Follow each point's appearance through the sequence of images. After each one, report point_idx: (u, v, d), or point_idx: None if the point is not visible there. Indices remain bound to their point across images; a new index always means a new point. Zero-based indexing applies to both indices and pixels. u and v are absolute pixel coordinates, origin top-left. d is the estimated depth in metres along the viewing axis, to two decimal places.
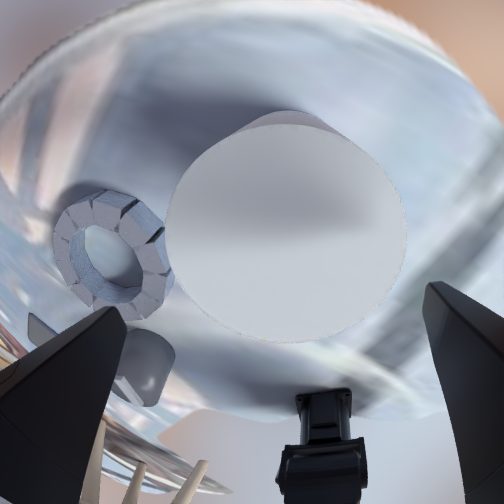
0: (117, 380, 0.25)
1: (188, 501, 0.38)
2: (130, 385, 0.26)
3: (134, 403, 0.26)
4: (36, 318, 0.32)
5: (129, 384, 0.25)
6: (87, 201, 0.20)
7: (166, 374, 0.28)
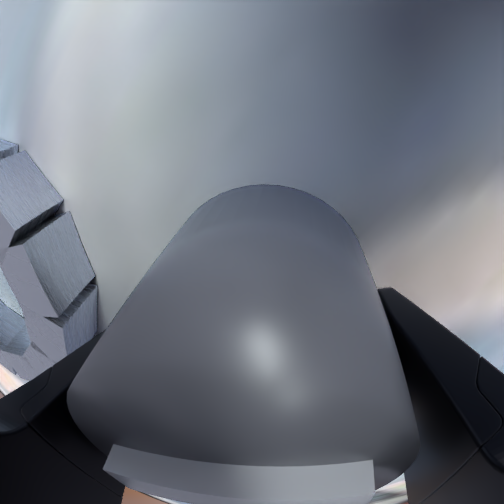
0: (121, 480, 0.04)
1: None
2: (187, 460, 0.04)
3: None
4: None
5: (169, 459, 0.04)
6: None
7: (274, 235, 0.05)
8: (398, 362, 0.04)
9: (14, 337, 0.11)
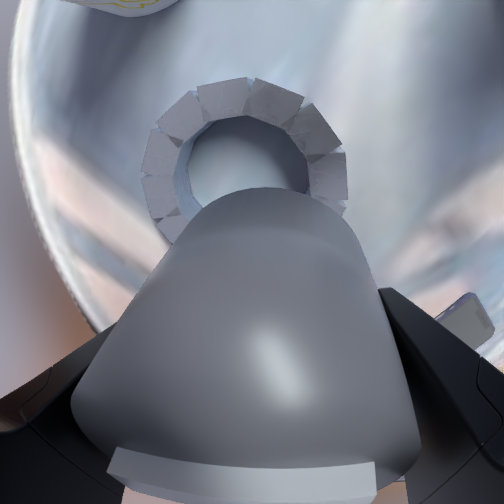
0: (125, 482, 0.04)
1: None
2: (191, 463, 0.04)
3: None
4: None
5: (173, 462, 0.04)
6: (142, 180, 0.17)
7: (276, 239, 0.05)
8: (399, 365, 0.04)
9: None
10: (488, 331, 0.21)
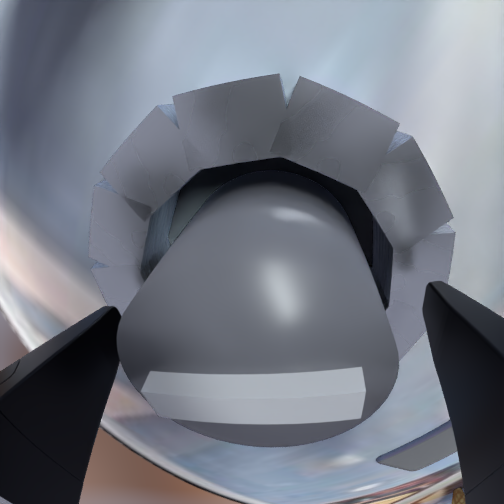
0: (154, 405, 0.06)
1: None
2: (215, 375, 0.06)
3: (334, 413, 0.05)
4: (388, 454, 0.18)
5: (200, 375, 0.06)
6: (93, 271, 0.09)
7: (281, 201, 0.07)
8: (375, 289, 0.06)
9: None
10: None
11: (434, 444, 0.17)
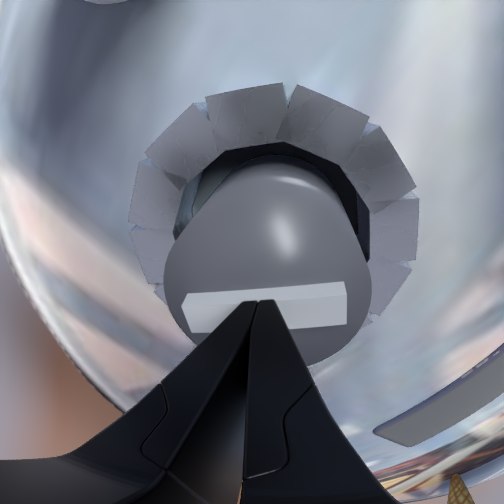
0: (190, 320, 0.08)
1: None
2: (237, 291, 0.08)
3: (326, 317, 0.08)
4: (384, 425, 0.21)
5: (227, 291, 0.08)
6: (131, 234, 0.12)
7: (284, 172, 0.10)
8: (351, 229, 0.08)
9: None
10: None
11: (427, 415, 0.19)
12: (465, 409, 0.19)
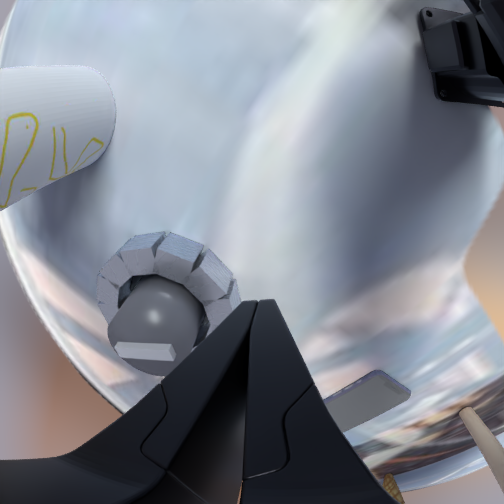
0: (118, 352, 0.19)
1: None
2: (134, 343, 0.19)
3: (164, 357, 0.18)
4: None
5: (130, 342, 0.19)
6: (99, 305, 0.23)
7: (156, 289, 0.20)
8: (178, 321, 0.19)
9: None
10: (402, 395, 0.27)
11: None
12: (351, 419, 0.30)
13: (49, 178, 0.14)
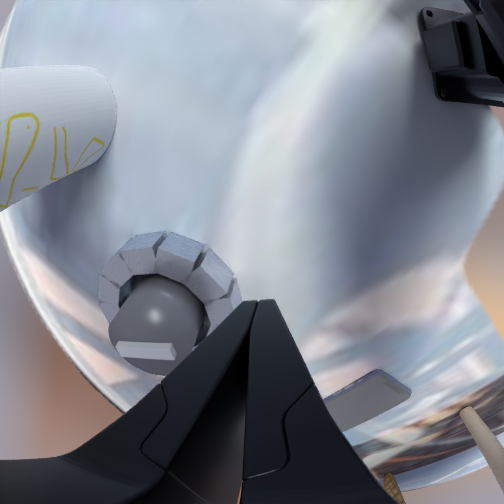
0: (119, 351, 0.19)
1: None
2: (135, 342, 0.19)
3: (165, 356, 0.18)
4: None
5: (131, 342, 0.19)
6: (100, 304, 0.23)
7: (157, 288, 0.20)
8: (178, 320, 0.19)
9: None
10: (403, 395, 0.27)
11: None
12: (351, 418, 0.30)
13: (51, 178, 0.14)
